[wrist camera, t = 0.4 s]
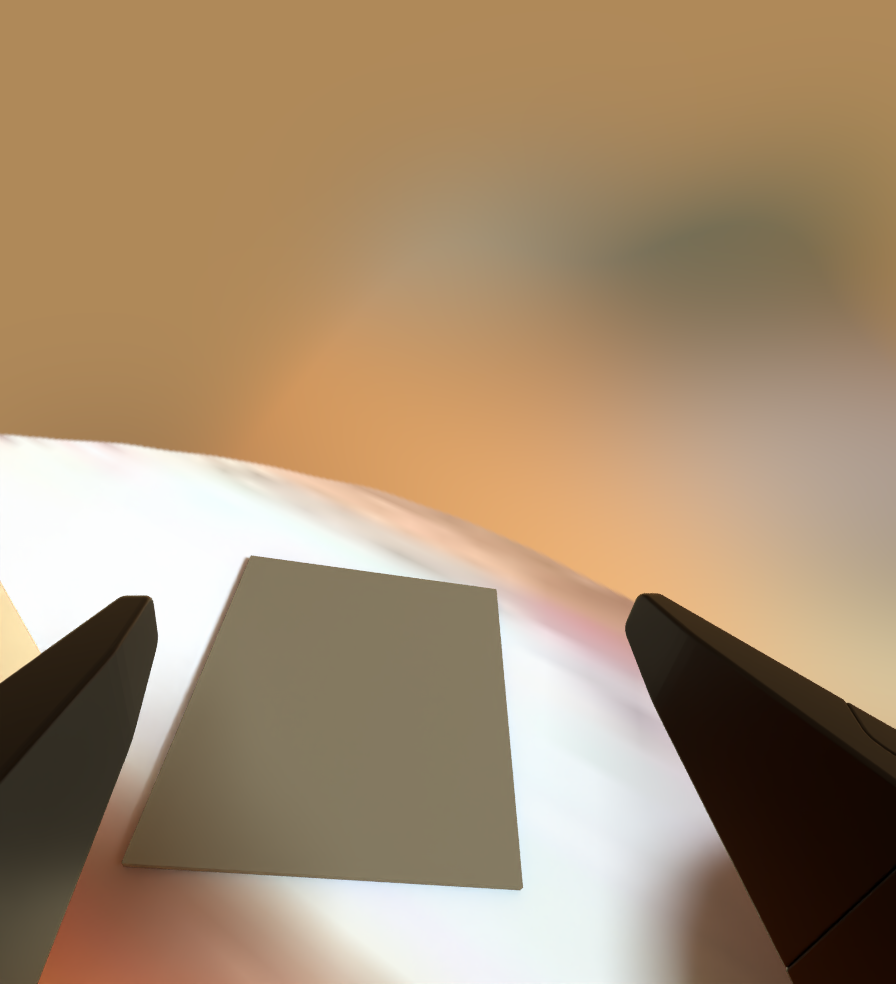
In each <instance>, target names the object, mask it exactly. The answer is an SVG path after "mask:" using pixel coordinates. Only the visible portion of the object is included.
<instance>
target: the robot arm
mask: <svg viewBox="0 0 896 984" xmlns="http://www.w3.org/2000/svg"><path fill="white" fill-rule="evenodd" d="M625 631H626V636H627V639H628V641H629V644H630V646H631V649H632V651H633V654H634V657H635V659H636V662H637V664H638V667H639V669H640V672H641V675H642V677H643V680H644V682H645V685H646V688H647V690H648V693H649V695H650V697H651V700H652V702H653V704H654V707H655V709H656V711H657V713H658V715H659V717H660V719H661V721H662V723H663V725H664V727H665V729H666V731H667V733H668V735H669V737H670V739H671V741H672V743H673V745H674V747H675V749H676V751H677V753H678V755H679V757H680V759H681V761H682V763H683V765H684V767H685V769H686V771H687V773H688V775H689V777H690V779H691V781H692V783H693V785H694V787H695V789H696V791H697V793H698V795H699V797H700V799H701V801H702V803H703V805H704V807H705V809H706V811H707V813H708V815H709V817H710V819H711V821H712V823H713V825H714V827H715V829H716V831H717V833H718V835H719V837H720V839H721V841H722V843H723V845H724V847H725V849H726V851H727V853H728V855H729V857H730V859H731V861H732V863H733V865H734V867H735V869H736V871H737V873H738V875H739V877H740V879H741V881H742V883H743V885H744V887H745V889H746V891H747V893H748V895H749V897H750V899H751V901H752V903H753V905H754V907H755V909H756V911H757V913H758V915H759V917H760V919H761V921H762V923H763V925H764V927H765V929H766V931H767V933H768V935H769V937H770V939H771V941H772V943H773V945H774V947H775V949H776V951H777V953H778V955H779V957H780V959H781V961H782V963H783V965H784V966H785V967H787V968H786V972H787V974H788V976H789V978H790V980H791V982H792V984H896V729H894V728H892V727H891V726H889V725H887V724H885V723H883V722H882V721H880V720H878V719H876V718H875V717H873V716H871V715H869V714H868V713H866V712H864V711H862V710H861V709H859V708H857V707H855V706H854V705H852V704H850V703H846V702H845V701H844V700H843V699H841V698H840V697H838V696H836V695H834V694H833V693H831V692H829V691H828V690H826V689H824V688H822V687H820V686H819V685H817V684H815V683H814V682H812V681H810V680H809V679H807V678H805V677H803V676H801V675H799V674H798V673H796V672H794V671H793V670H791V669H790V668H788V667H786V666H784V665H783V664H781V663H779V662H777V661H776V660H774V659H772V658H770V657H769V656H767V655H765V654H764V653H762V652H760V651H758V650H756V649H755V648H753V647H751V646H750V645H748V644H746V643H744V642H743V641H741V640H739V639H737V638H736V637H734V636H732V635H731V634H729V633H727V632H725V631H723V630H722V629H720V628H718V627H717V626H715V625H713V624H711V623H710V622H708V621H706V620H705V619H703V618H701V617H699V616H698V615H696V614H694V613H692V612H691V611H689V610H687V609H686V608H684V607H682V606H680V605H679V604H677V603H675V602H673V601H672V600H670V599H668V598H666V597H665V596H663V595H661V594H656V593H650V594H649V593H644V594H640V595H639V596H638V597H637V599H636V601H635V603H634V605H633V607H632V610H631V612H630V614H629V617H628V619H627V621H626V625H625ZM157 641H158V632H157V625H156V617H155V610H154V603H153V600H152V598H151V597H149V596H122V597H120V598H118V599H116V600H115V601H114V602H112V603H111V604H109V605H108V606H107V607H105V608H104V609H103V610H101V611H100V612H98V613H97V614H96V615H94V616H93V617H91V618H90V619H89V620H87V621H86V622H84V623H83V624H82V625H80V626H79V627H77V628H76V629H75V630H73V631H72V632H70V633H69V634H68V635H66V636H65V637H63V638H62V639H61V640H59V641H58V642H57V643H55V644H54V645H52V646H51V647H50V648H48V649H47V650H45V651H44V652H43V653H41V654H40V655H38V656H37V657H36V658H34V659H33V660H31V661H30V662H29V663H27V664H26V665H24V666H23V667H22V668H20V669H19V670H17V671H16V672H15V673H13V674H12V675H11V676H9V677H8V678H6V679H5V680H4V681H2V682H1V683H0V984H38V981H39V979H40V976H41V974H42V971H43V968H44V966H45V963H46V961H47V958H48V956H49V953H50V950H51V948H52V945H53V943H54V940H55V938H56V935H57V933H58V930H59V927H60V925H61V922H62V920H63V917H64V915H65V912H66V909H67V907H68V904H69V902H70V899H71V897H72V894H73V892H74V889H75V886H76V884H77V881H78V879H79V876H80V874H81V871H82V868H83V866H84V863H85V861H86V858H87V856H88V853H89V851H90V848H91V845H92V843H93V840H94V838H95V835H96V833H97V830H98V827H99V825H100V822H101V820H102V817H103V815H104V812H105V810H106V807H107V804H108V802H109V799H110V797H111V794H112V792H113V789H114V786H115V784H116V781H117V779H118V776H119V774H120V771H121V769H122V766H123V763H124V761H125V758H126V756H127V753H128V750H129V747H130V745H131V742H132V739H133V735H134V732H135V728H136V725H137V721H138V717H139V713H140V710H141V706H142V702H143V698H144V694H145V690H146V687H147V683H148V679H149V675H150V671H151V667H152V664H153V660H154V656H155V652H156V648H157Z"/></svg>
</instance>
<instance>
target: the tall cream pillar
mask: <svg viewBox="0 0 896 984" xmlns="http://www.w3.org/2000/svg"><path fill="white" fill-rule="evenodd" d="M40 654H41V652H40V651H39V649H38V647H37V645H36V644H35V642H34V640H33V638H32V637H31V635H30V633H29V631H28V629H27V628H26V626H25V624H24V622H23V621H22V619H21V617H20V615H19V613H18V612H17V610H16V608H15V606H14V605H13V603H12V601H11V599H10V598H9V596H8V594H7V592H6V590H5V589H4V587H3V585H2V583H1V582H0V683H1V682H2V681H4V680H5V679H6V678H8V677H9V676H11V675H12V674H13V673H15V672H16V671H17V670H19V669H20V668H22V667H23V666H24V665H26V664H27V663H29V662H30V661H31V660H33V659H34V658H36V657H37V656H38V655H40Z"/></svg>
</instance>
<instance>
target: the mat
mask: <svg viewBox="0 0 896 984" xmlns="http://www.w3.org/2000/svg"><path fill="white" fill-rule="evenodd" d="M121 864H122V865H123V866H125V867H142V868H159V869H175V870H192V871H209V872H225V873H242V874H258V875H275V876H292V877H308V878H325V879H342V880H358V881H375V882H391V883H408V884H425V885H441V886H458V887H474V888H491V889H508V890H521V889H522V888H523V883H522V872H521V861H520V849H519V838H518V827H517V816H516V805H515V793H514V782H513V771H512V760H511V749H510V737H509V726H508V715H507V704H506V692H505V681H504V670H503V659H502V648H501V636H500V625H499V614H498V603H497V591H496V589H490V588H483V587H476V586H468V585H461V584H454V583H447V582H439V581H432V580H425V579H418V578H410V577H403V576H396V575H389V574H381V573H374V572H367V571H360V570H352V569H345V568H338V567H331V566H323V565H316V564H309V563H302V562H294V561H287V560H280V559H272V558H265V557H258V556H251V557H250V559H249V561H248V564H247V566H246V568H245V571H244V573H243V575H242V578H241V580H240V583H239V585H238V587H237V590H236V592H235V594H234V597H233V599H232V602H231V604H230V606H229V609H228V611H227V613H226V616H225V618H224V621H223V623H222V625H221V628H220V630H219V632H218V635H217V637H216V640H215V642H214V644H213V647H212V649H211V651H210V654H209V656H208V659H207V661H206V663H205V666H204V668H203V670H202V673H201V675H200V678H199V680H198V682H197V685H196V687H195V689H194V692H193V694H192V697H191V699H190V701H189V704H188V706H187V708H186V711H185V713H184V716H183V718H182V720H181V723H180V725H179V727H178V730H177V732H176V735H175V737H174V739H173V742H172V744H171V746H170V749H169V751H168V753H167V756H166V758H165V761H164V763H163V765H162V768H161V770H160V772H159V775H158V777H157V780H156V782H155V784H154V787H153V789H152V791H151V794H150V796H149V799H148V801H147V803H146V806H145V808H144V810H143V813H142V815H141V818H140V820H139V822H138V825H137V827H136V829H135V832H134V834H133V837H132V839H131V841H130V844H129V846H128V848H127V851H126V853H125V856H124V858H123V860H122V863H121Z"/></svg>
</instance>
